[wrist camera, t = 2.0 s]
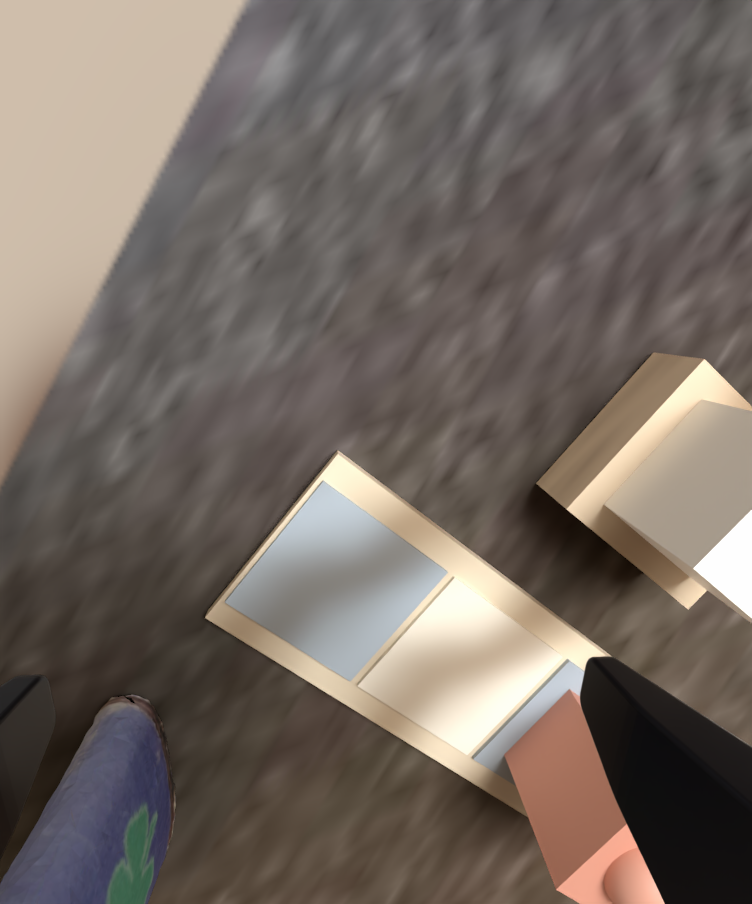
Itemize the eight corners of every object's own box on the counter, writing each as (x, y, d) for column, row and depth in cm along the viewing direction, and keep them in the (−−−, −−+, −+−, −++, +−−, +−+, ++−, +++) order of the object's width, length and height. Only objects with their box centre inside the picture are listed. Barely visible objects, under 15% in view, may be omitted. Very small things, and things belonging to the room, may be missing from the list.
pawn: (634, 735, 25) (753, 902, 18) (569, 797, 26) (660, 982, 19) (569, 688, 24) (668, 847, 17) (504, 754, 25) (573, 933, 18)
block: (759, 455, 23) (821, 476, 20) (644, 572, 24) (688, 609, 21) (653, 352, 21) (704, 359, 18) (535, 483, 22) (566, 509, 19)
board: (674, 703, 26) (684, 715, 25) (549, 822, 27) (556, 837, 26) (337, 450, 21) (337, 455, 20) (208, 609, 22) (203, 620, 22)
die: (787, 480, 20) (937, 536, 15) (691, 578, 20) (802, 661, 16) (702, 398, 19) (833, 429, 14) (603, 504, 19) (694, 569, 15)
